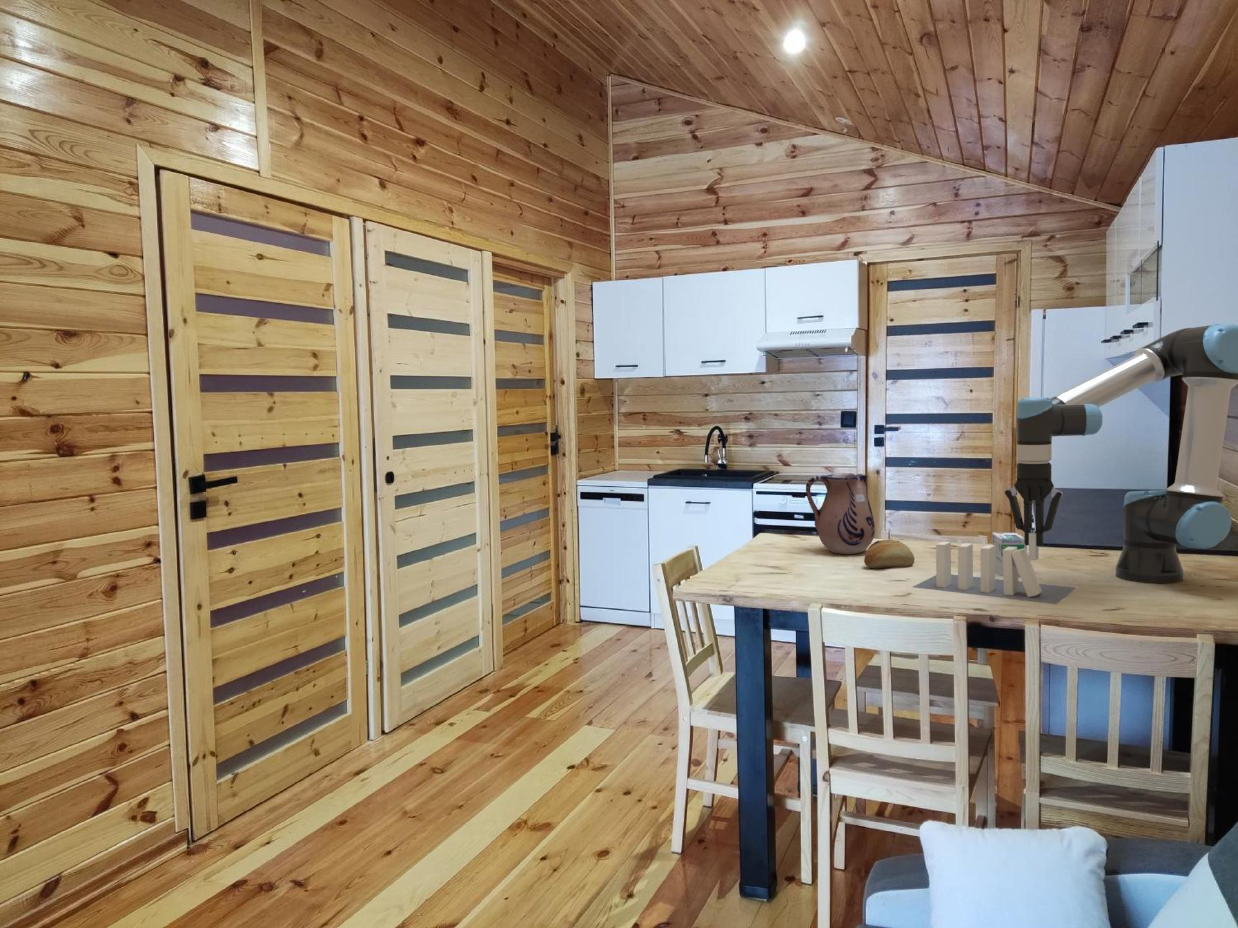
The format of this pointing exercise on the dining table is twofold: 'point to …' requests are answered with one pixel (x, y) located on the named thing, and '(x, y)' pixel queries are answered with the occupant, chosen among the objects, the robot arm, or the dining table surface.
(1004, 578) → the domino
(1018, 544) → the light bulb box
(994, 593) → the mat
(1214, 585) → the dining table surface
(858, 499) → the ceramic pitcher
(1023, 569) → the domino
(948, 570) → the domino
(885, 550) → the bread roll
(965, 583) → the domino
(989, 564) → the domino
